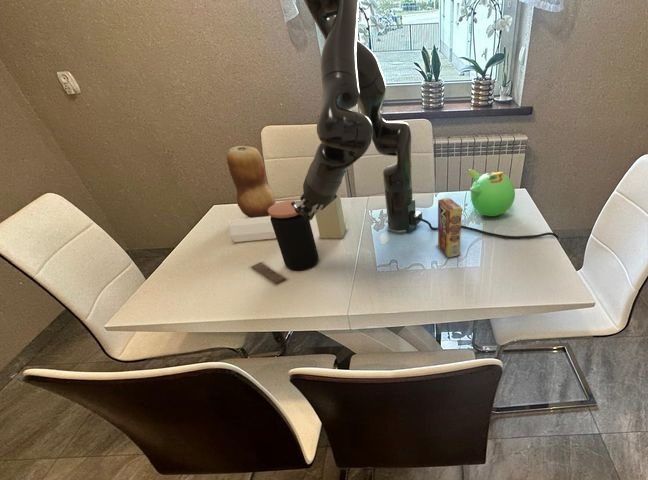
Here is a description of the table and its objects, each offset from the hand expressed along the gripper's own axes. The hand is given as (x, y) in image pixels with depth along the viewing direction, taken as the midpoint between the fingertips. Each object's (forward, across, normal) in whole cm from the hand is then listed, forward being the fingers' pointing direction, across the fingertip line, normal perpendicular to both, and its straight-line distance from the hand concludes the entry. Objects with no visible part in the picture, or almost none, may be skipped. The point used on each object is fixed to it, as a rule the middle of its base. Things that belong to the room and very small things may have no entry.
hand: (307, 217), depth 102 cm
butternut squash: (+51, -10, -26) cm, 58 cm away
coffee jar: (+20, 0, +5) cm, 21 cm away
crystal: (+39, -2, -14) cm, 42 cm away
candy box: (-2, -36, +27) cm, 45 cm away
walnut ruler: (+22, +10, +3) cm, 25 cm away
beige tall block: (+26, -19, -1) cm, 33 cm away
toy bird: (+4, -67, +22) cm, 71 cm away
